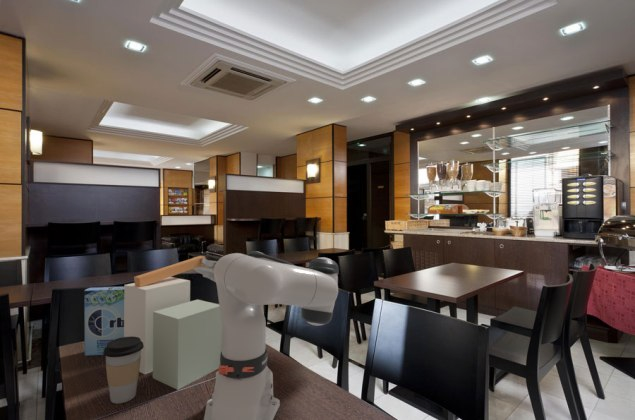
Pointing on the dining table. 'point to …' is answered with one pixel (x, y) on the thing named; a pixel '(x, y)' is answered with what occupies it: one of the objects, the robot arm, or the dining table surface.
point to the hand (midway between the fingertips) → (197, 259)
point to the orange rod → (167, 271)
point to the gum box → (103, 317)
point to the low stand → (186, 342)
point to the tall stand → (150, 311)
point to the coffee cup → (123, 367)
